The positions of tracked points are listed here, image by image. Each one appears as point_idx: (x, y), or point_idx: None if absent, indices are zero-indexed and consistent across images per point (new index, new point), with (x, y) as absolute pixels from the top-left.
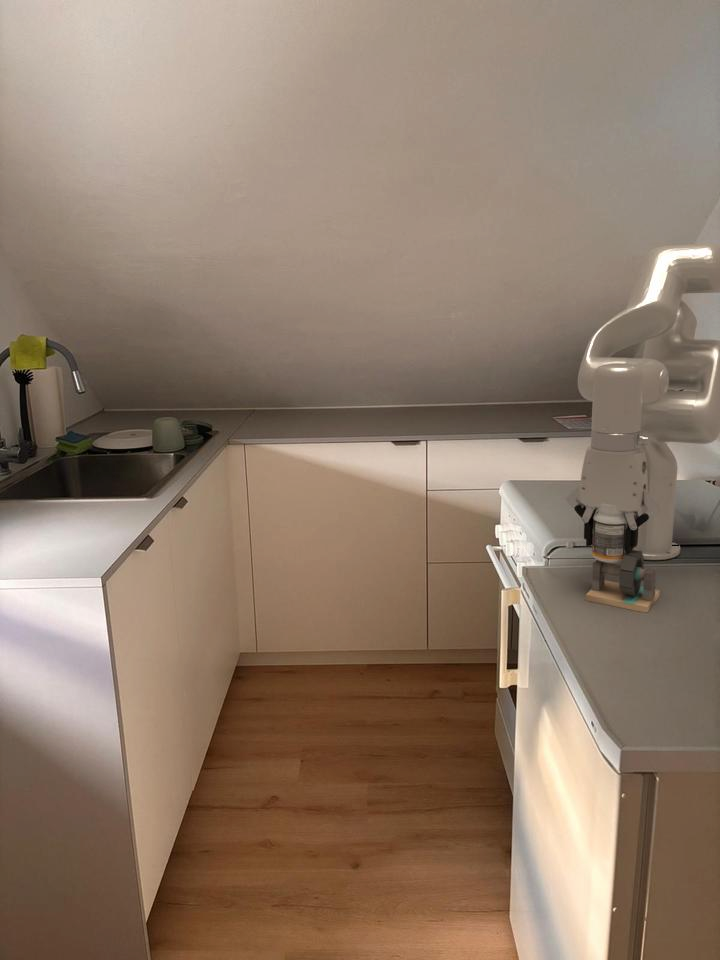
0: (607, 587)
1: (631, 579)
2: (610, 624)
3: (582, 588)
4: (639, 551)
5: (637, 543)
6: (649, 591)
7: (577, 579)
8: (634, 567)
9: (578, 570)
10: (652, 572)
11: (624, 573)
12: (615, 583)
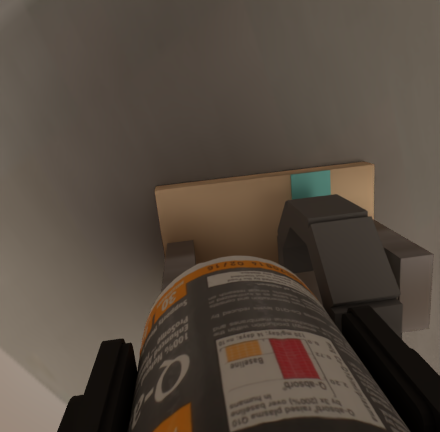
0: (210, 248)
1: None
2: None
3: (121, 253)
4: (394, 312)
5: (410, 348)
6: None
7: (59, 184)
8: None
9: (4, 85)
10: (428, 315)
11: None
12: (218, 195)
